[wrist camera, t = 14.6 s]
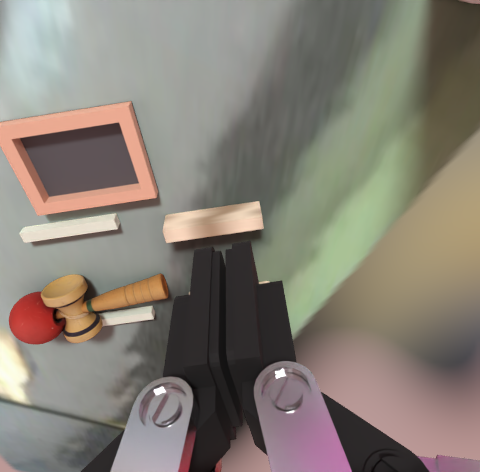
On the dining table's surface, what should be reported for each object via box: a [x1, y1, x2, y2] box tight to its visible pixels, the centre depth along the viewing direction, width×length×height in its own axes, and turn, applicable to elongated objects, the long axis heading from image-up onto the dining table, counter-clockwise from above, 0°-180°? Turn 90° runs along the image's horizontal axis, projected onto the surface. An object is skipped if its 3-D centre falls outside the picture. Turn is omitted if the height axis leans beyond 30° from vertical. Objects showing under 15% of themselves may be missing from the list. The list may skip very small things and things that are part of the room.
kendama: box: [9, 274, 168, 344], centre depth 44 cm, size 8×6×18 cm
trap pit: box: [0, 101, 158, 216], centre depth 35 cm, size 12×9×2 cm
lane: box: [163, 201, 269, 295], centre depth 43 cm, size 10×13×3 cm
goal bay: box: [19, 213, 155, 326], centre depth 44 cm, size 10×15×1 cm, turn 8°
